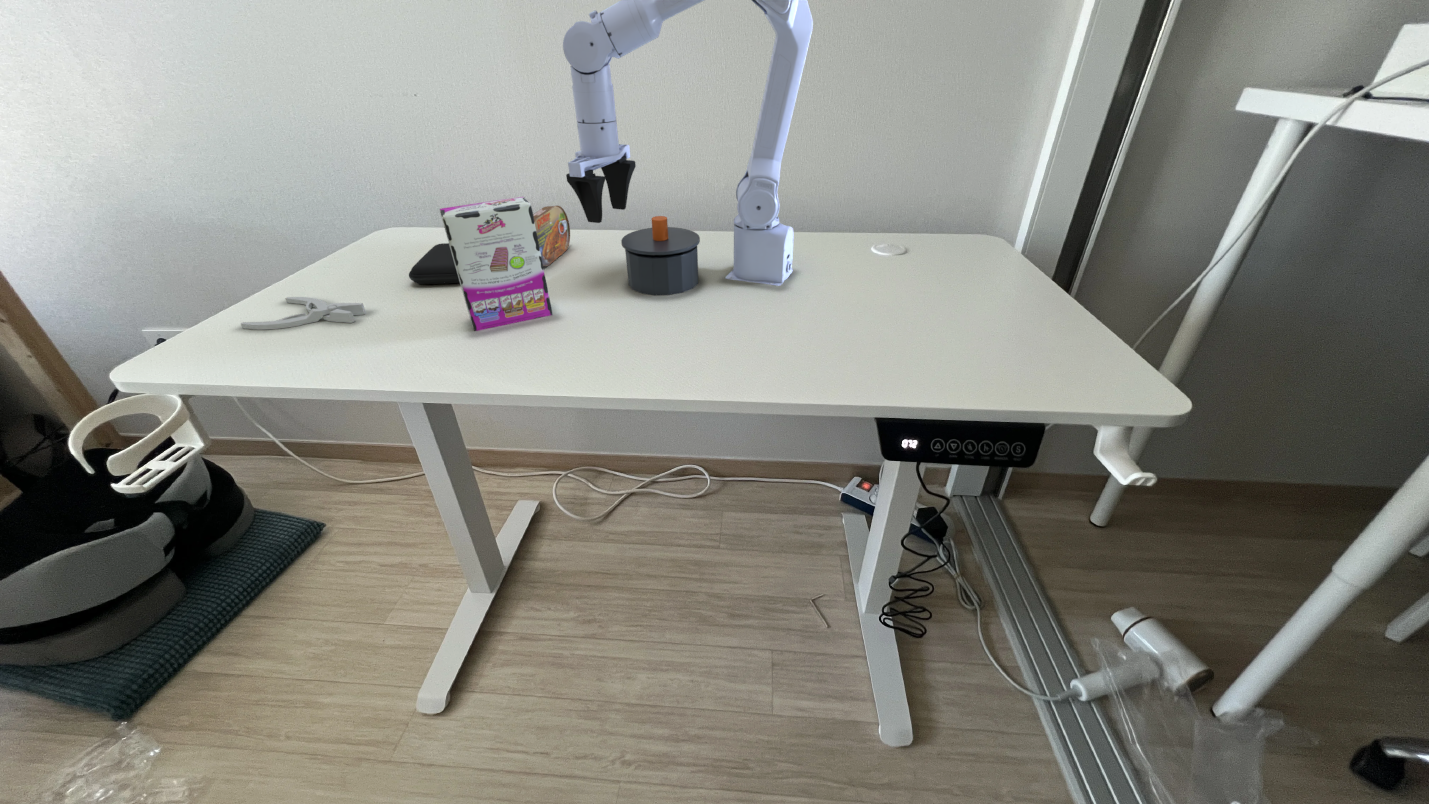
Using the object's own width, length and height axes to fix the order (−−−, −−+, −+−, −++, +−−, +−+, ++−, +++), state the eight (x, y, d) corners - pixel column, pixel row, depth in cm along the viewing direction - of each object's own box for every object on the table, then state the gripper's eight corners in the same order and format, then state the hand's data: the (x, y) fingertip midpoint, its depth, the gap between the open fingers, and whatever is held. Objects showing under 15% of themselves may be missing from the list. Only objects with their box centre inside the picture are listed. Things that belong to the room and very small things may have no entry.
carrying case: (474, 286, 96) (496, 255, 108) (469, 268, 94) (492, 239, 107) (407, 288, 96) (437, 257, 108) (402, 270, 94) (433, 240, 106)
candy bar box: (545, 306, 89) (524, 195, 80) (554, 318, 85) (533, 203, 76) (468, 321, 85) (437, 206, 76) (474, 335, 81) (442, 215, 72)
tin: (539, 273, 100) (530, 224, 96) (522, 272, 101) (512, 223, 96) (574, 245, 113) (567, 200, 108) (558, 244, 113) (551, 199, 109)
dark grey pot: (708, 276, 98) (707, 238, 94) (681, 302, 89) (679, 261, 86) (648, 268, 102) (645, 231, 98) (616, 293, 93) (612, 253, 89)
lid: (711, 238, 95) (711, 211, 92) (680, 263, 85) (679, 233, 83) (644, 230, 98) (642, 204, 96) (607, 253, 89) (604, 225, 87)
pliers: (286, 291, 91) (376, 294, 90) (290, 300, 92) (379, 304, 91) (236, 318, 83) (334, 322, 81) (241, 328, 84) (338, 332, 82)
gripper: (598, 112, 92) (608, 201, 99) (544, 127, 81) (559, 225, 88) (638, 114, 90) (645, 204, 97) (588, 129, 79) (600, 230, 86)
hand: (607, 215), depth 93 cm, fingers open, 7 cm apart
